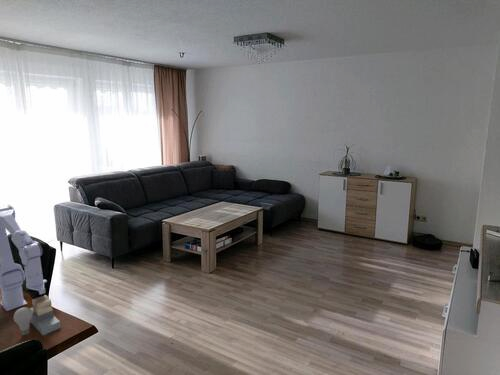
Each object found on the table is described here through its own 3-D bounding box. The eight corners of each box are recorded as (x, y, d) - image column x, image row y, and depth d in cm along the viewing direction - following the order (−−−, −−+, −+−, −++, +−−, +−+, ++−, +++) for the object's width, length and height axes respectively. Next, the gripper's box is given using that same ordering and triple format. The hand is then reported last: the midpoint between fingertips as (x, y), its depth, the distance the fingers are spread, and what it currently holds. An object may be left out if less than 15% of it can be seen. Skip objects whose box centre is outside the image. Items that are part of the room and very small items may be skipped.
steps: (29, 321, 146) (27, 309, 145) (47, 314, 151) (45, 302, 150) (43, 335, 137) (41, 322, 136) (60, 327, 142) (59, 314, 141)
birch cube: (33, 310, 143) (32, 299, 142) (46, 305, 147) (45, 294, 145) (38, 316, 140) (37, 305, 139) (51, 311, 144) (51, 300, 142)
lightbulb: (26, 340, 134) (22, 313, 132) (12, 338, 136) (8, 311, 133) (39, 330, 140) (35, 305, 138) (25, 328, 141) (21, 303, 139)
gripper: (51, 275, 141) (56, 306, 144) (37, 265, 151) (42, 294, 154) (31, 281, 136) (36, 314, 139) (18, 270, 146) (23, 301, 148)
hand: (38, 304), depth 146 cm, fingers closed
